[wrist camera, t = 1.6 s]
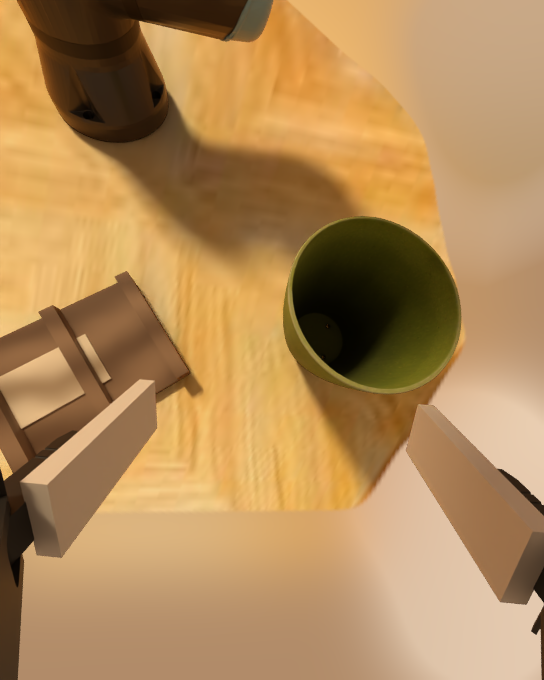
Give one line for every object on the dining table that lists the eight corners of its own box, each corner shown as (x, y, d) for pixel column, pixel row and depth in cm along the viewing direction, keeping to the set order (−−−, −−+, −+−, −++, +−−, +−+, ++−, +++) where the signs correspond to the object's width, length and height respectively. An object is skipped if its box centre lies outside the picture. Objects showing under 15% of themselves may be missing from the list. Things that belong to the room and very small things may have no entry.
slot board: (-41, 361, 30) (-62, 357, 28) (132, 279, 35) (126, 271, 33) (19, 476, 29) (3, 482, 26) (190, 373, 34) (188, 371, 32)
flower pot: (333, 421, 36) (418, 434, 20) (237, 354, 35) (249, 316, 20) (383, 330, 40) (486, 283, 24) (298, 269, 40) (347, 184, 24)
